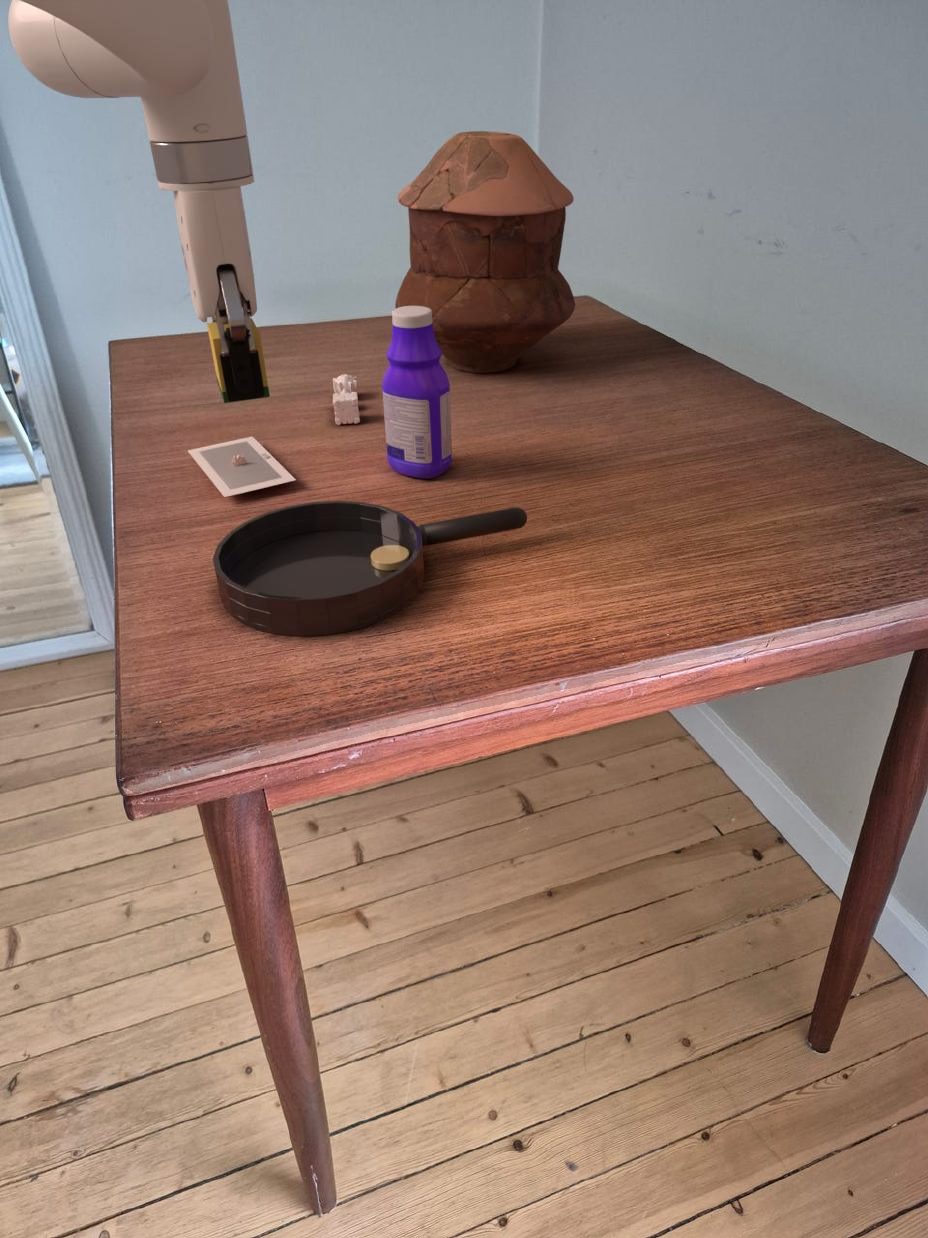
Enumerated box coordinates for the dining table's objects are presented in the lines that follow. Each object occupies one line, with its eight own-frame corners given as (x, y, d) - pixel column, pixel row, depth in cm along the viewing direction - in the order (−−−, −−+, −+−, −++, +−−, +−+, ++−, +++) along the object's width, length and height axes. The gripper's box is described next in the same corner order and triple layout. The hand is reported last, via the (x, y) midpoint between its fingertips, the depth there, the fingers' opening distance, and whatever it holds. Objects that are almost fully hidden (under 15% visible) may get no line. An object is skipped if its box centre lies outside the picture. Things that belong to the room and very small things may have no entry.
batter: (376, 574, 79) (376, 566, 79) (367, 556, 82) (366, 548, 82) (414, 566, 80) (414, 558, 80) (403, 549, 83) (403, 541, 83)
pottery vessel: (383, 348, 140) (366, 130, 124) (538, 331, 145) (541, 120, 129) (420, 400, 119) (405, 146, 103) (600, 378, 124) (612, 133, 108)
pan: (233, 655, 71) (225, 618, 69) (211, 553, 85) (204, 520, 83) (450, 610, 75) (448, 573, 73) (394, 520, 90) (392, 488, 88)
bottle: (462, 467, 100) (456, 306, 91) (433, 485, 96) (424, 320, 87) (408, 455, 104) (398, 299, 94) (379, 472, 100) (365, 312, 90)
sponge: (224, 403, 78) (212, 338, 75) (218, 384, 83) (206, 322, 80) (269, 397, 79) (260, 333, 76) (261, 378, 84) (251, 317, 81)
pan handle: (416, 551, 81) (415, 532, 79) (410, 542, 82) (409, 522, 81) (530, 530, 83) (530, 510, 82) (522, 521, 85) (522, 502, 84)
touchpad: (226, 506, 94) (222, 487, 92) (189, 459, 105) (185, 441, 103) (297, 489, 97) (294, 470, 95) (253, 445, 108) (250, 427, 107)
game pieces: (361, 424, 112) (358, 399, 111) (334, 426, 112) (331, 401, 110) (358, 393, 123) (356, 369, 121) (334, 394, 122) (331, 371, 120)
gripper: (150, 157, 77) (192, 366, 87) (159, 180, 63) (208, 425, 73) (238, 151, 79) (270, 356, 89) (266, 172, 65) (299, 412, 75)
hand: (241, 385), depth 81 cm, fingers closed on sponge, 5 cm apart
